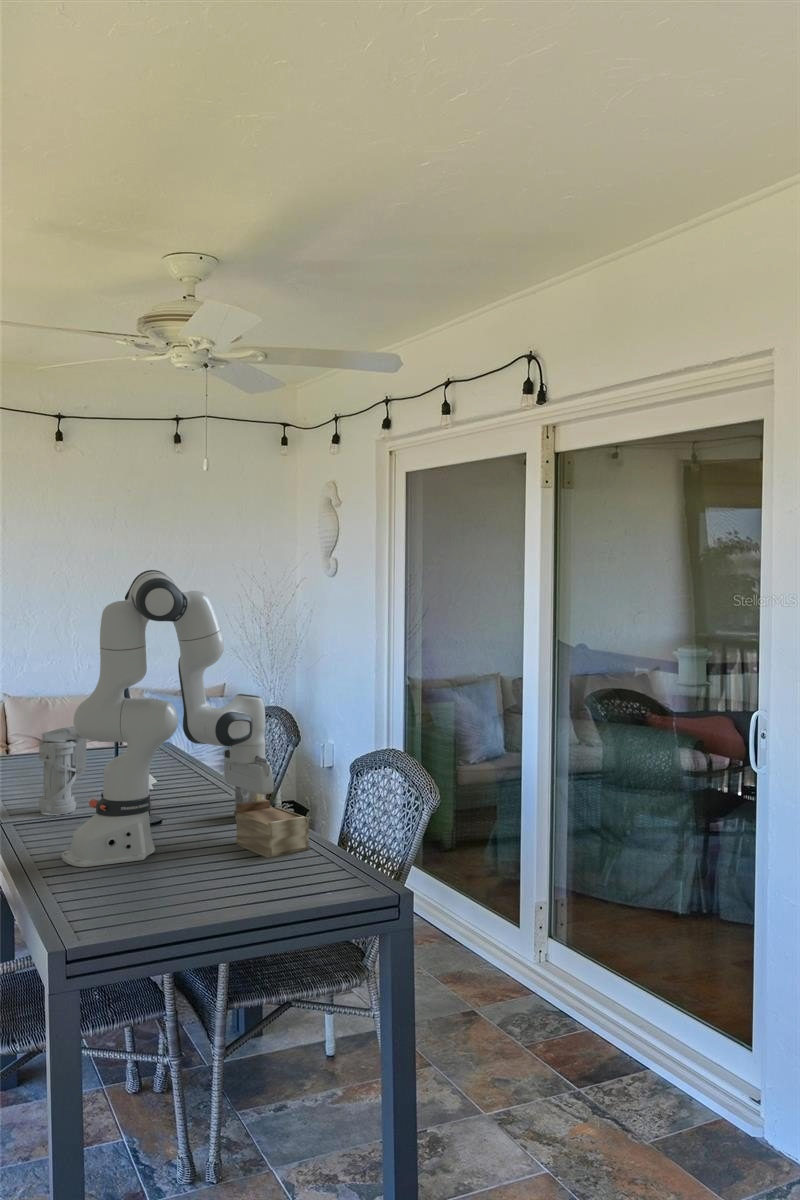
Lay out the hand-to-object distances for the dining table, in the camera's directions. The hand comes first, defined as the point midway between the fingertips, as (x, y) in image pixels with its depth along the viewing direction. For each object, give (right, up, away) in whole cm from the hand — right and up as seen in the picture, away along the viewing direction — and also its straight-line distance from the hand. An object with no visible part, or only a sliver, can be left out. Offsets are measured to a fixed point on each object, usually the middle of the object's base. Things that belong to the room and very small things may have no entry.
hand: (248, 805), depth 263 cm
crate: (+8, -9, -9) cm, 15 cm away
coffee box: (-3, -9, +23) cm, 25 cm away
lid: (+6, -2, -8) cm, 10 cm away
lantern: (-60, -8, +29) cm, 67 cm away
